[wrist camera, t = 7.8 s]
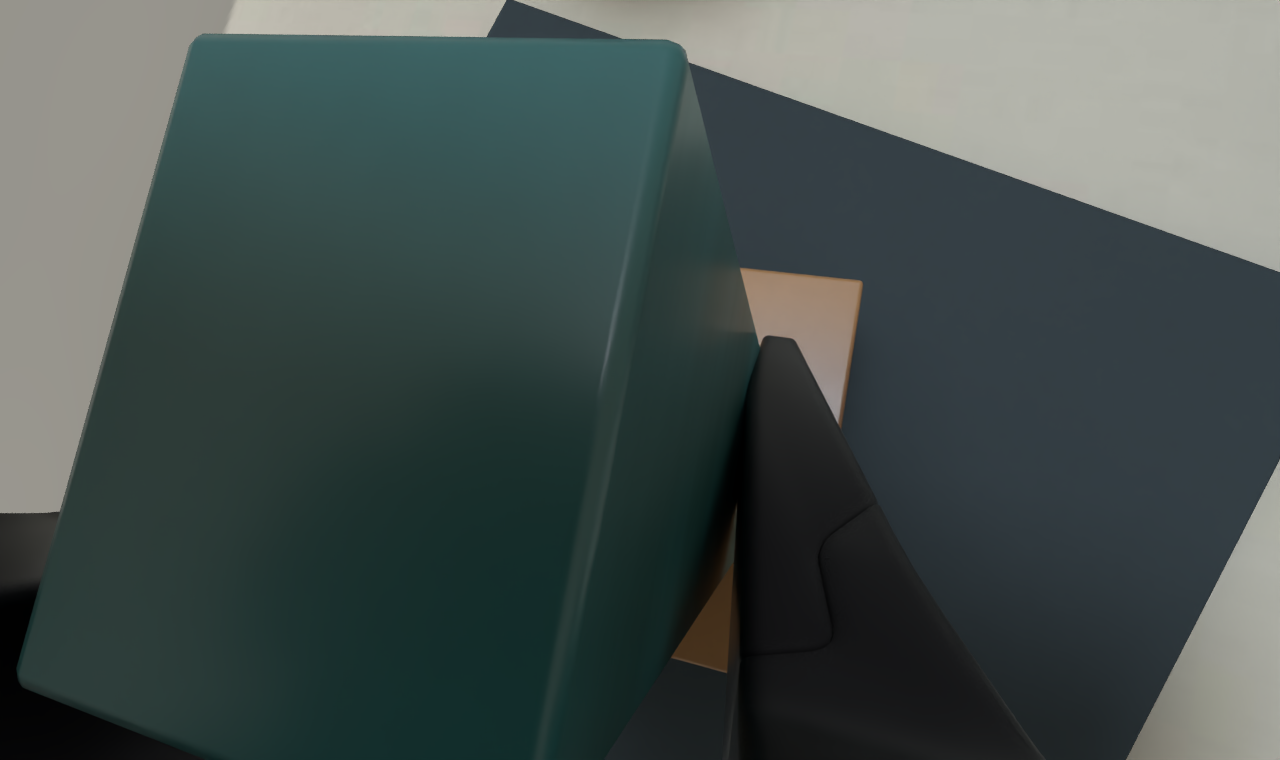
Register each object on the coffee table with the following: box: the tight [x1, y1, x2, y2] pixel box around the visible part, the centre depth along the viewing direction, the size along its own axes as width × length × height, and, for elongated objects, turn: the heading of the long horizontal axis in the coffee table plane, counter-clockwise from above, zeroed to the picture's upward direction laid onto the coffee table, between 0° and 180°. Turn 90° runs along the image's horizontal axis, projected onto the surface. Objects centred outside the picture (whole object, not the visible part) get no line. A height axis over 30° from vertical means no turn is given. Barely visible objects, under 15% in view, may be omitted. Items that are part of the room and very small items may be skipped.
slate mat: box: [487, 0, 1280, 760], centre depth 16 cm, size 18×22×1 cm
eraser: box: [16, 34, 863, 760], centre depth 9 cm, size 7×5×13 cm
